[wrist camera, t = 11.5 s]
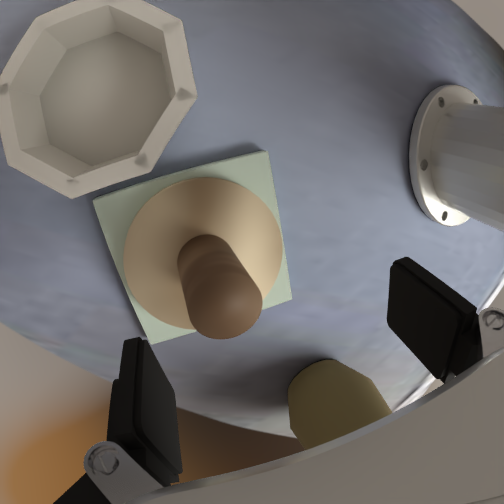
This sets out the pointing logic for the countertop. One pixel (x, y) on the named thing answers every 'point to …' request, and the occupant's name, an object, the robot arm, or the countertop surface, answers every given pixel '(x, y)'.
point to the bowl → (94, 94)
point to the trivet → (134, 197)
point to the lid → (203, 256)
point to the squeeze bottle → (332, 403)
